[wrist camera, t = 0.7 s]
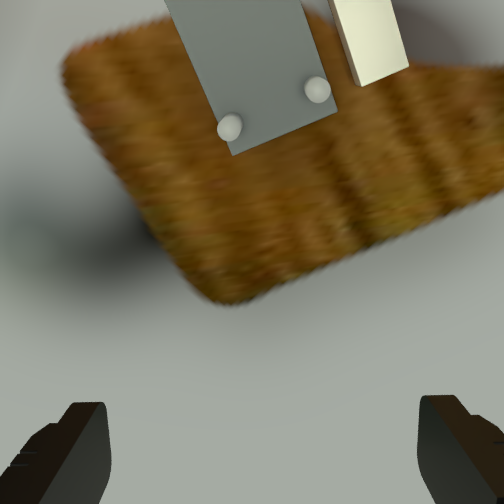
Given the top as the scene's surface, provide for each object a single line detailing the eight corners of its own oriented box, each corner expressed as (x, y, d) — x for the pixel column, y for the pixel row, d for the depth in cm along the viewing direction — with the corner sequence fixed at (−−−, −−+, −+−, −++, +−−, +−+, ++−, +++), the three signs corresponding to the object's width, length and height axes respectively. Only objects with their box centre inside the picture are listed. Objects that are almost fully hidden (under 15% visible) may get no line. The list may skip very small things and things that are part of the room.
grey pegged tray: (124, -99, 27) (100, -122, 24) (241, -165, 26) (236, -201, 22) (233, 153, 33) (228, 165, 29) (336, 109, 31) (344, 117, 28)
